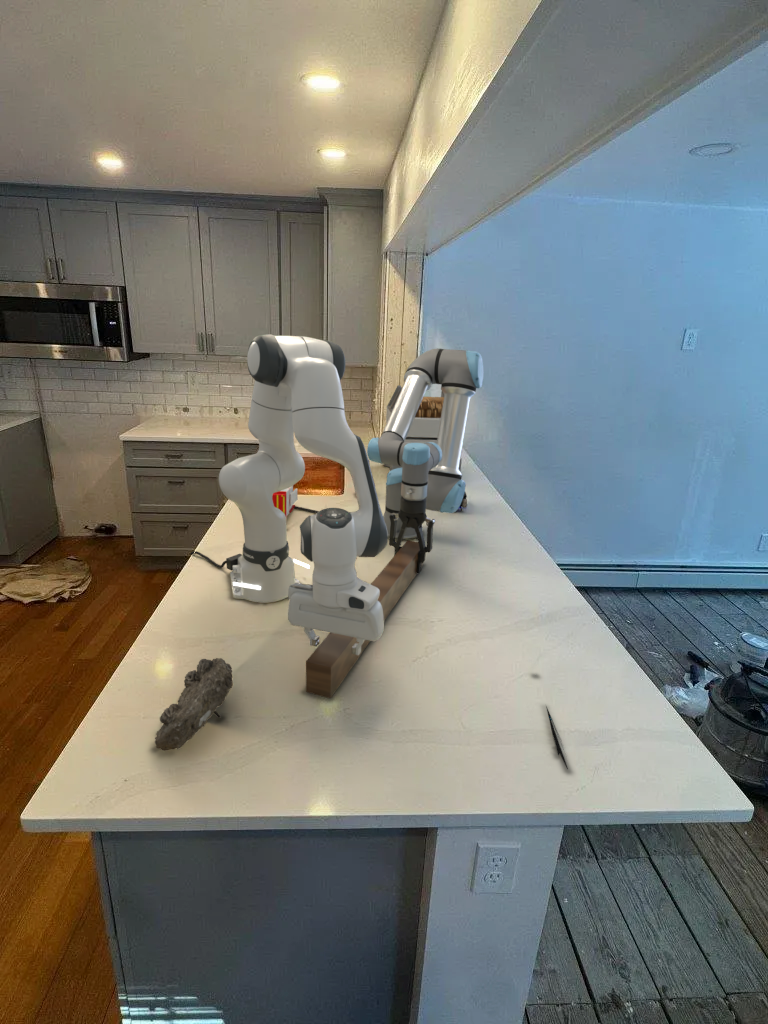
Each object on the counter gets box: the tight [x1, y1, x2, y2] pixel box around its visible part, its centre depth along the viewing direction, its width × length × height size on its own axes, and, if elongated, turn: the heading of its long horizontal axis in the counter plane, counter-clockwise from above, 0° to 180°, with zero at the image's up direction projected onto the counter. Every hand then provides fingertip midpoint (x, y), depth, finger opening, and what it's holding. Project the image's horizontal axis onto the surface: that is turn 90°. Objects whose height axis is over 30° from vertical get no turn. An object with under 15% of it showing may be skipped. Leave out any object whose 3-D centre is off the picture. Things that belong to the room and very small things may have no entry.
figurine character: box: [457, 491, 468, 512], centre depth 228 cm, size 7×8×15 cm
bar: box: [305, 540, 424, 699], centre depth 145 cm, size 69×6×8 cm, turn 161°
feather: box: [535, 673, 569, 770], centre depth 112 cm, size 2×28×2 cm
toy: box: [272, 485, 299, 518], centre depth 210 cm, size 12×13×30 cm
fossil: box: [154, 657, 234, 752], centre depth 107 cm, size 22×10×15 cm
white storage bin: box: [383, 384, 463, 472], centre depth 268 cm, size 34×33×41 cm
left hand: (335, 649), depth 118 cm, fingers open, 8 cm apart
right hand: (409, 569), depth 172 cm, fingers closed on bar, 5 cm apart
